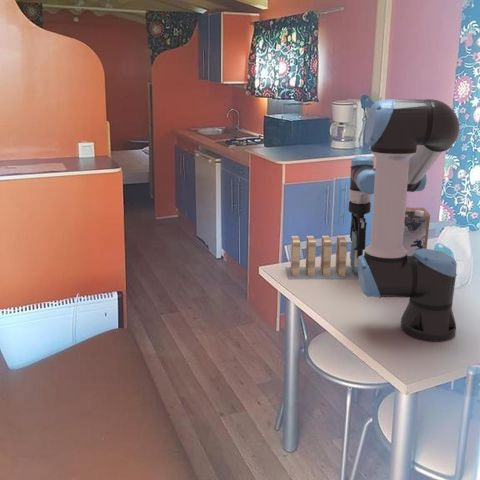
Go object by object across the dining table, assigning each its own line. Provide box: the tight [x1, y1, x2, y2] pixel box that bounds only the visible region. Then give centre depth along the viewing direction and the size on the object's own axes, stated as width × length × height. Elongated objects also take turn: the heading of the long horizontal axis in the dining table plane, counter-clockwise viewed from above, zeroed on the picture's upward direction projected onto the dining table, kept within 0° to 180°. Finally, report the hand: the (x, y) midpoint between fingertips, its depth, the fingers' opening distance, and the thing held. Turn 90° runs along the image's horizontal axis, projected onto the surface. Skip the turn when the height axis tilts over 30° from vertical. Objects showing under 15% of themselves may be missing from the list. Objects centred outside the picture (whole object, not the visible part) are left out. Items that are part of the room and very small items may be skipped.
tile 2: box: [305, 235, 317, 277], centre depth 202 cm, size 7×2×13 cm, turn 0°
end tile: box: [350, 231, 358, 271], centre depth 201 cm, size 7×2×13 cm, turn 0°
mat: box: [284, 266, 359, 280], centre depth 204 cm, size 12×32×1 cm, turn 90°
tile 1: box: [290, 235, 301, 277], centre depth 202 cm, size 7×2×13 cm, turn 0°
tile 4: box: [334, 235, 348, 276], centre depth 202 cm, size 7×2×13 cm, turn 0°
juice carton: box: [402, 210, 426, 256], centre depth 188 cm, size 9×10×27 cm
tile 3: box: [319, 235, 333, 276], centre depth 202 cm, size 7×2×13 cm, turn 0°
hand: (355, 262), depth 203 cm, fingers closed on end tile, 7 cm apart
